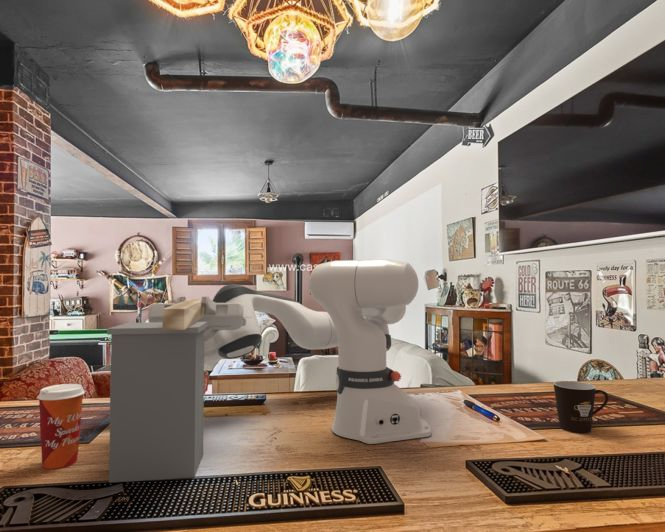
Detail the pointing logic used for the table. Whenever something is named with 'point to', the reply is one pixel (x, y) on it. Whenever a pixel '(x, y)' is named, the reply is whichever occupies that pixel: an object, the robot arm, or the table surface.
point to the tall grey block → (156, 401)
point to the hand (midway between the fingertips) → (192, 299)
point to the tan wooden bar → (182, 314)
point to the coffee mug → (576, 405)
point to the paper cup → (60, 424)
